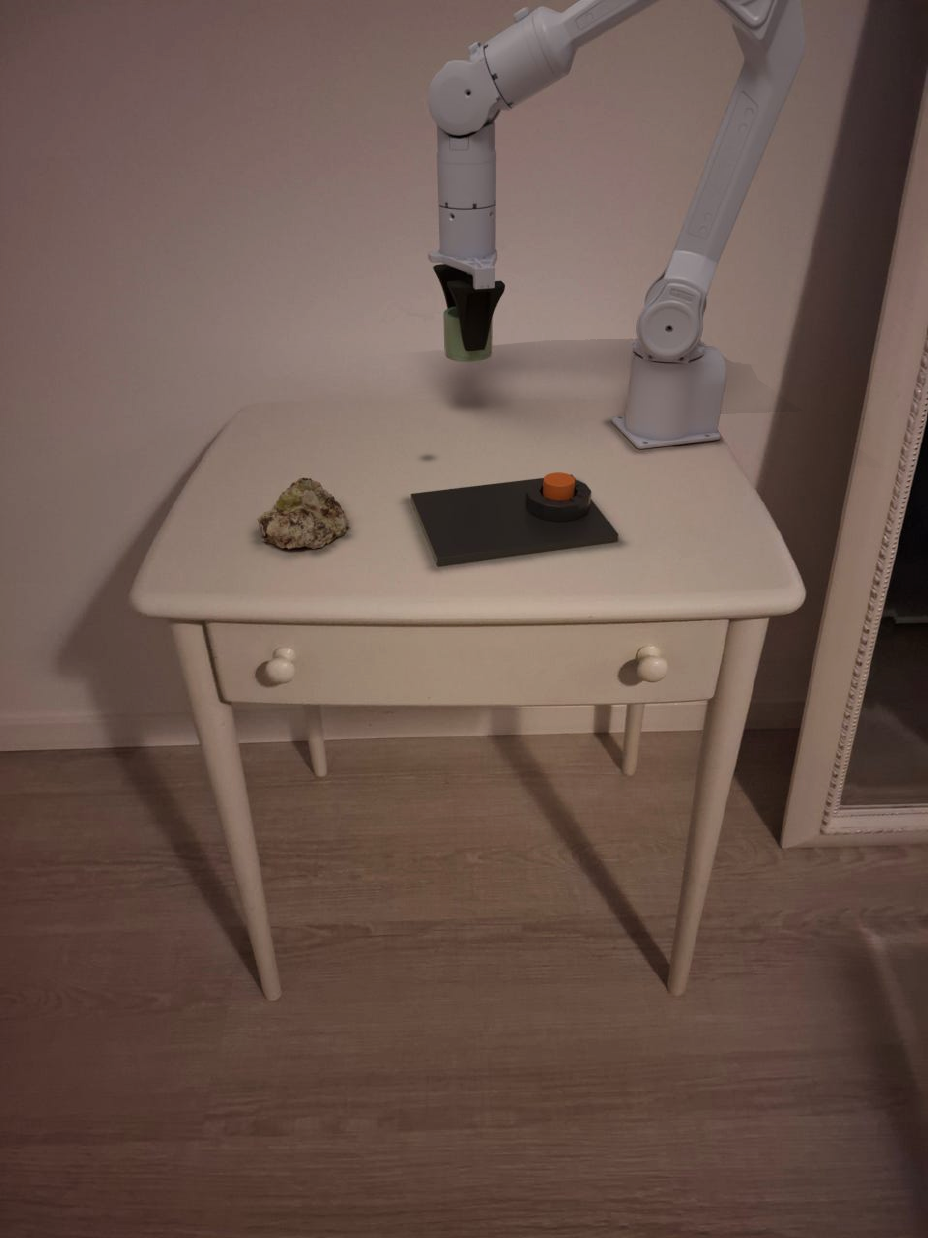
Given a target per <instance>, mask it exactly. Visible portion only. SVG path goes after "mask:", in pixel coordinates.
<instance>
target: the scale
mask: <svg viewBox="0 0 928 1238" xmlns="http://www.w3.org/2000/svg"><path fill="white" fill-rule="evenodd" d="M569 474H570V473H569ZM570 475H572V476H573V477H574V478H575V490H574V496H573V498H571V499H567V500H553V499H549V498H546V497H544V496H543V481H544V477H538V478H530V479H529V478H528V479H522V480H513V481H505V482H497V483H488V484H480V485H471V486H465V487H464V486H463V487H456V488H447V489H438V490H432V491H431V490H429V491H423V492H415V493H414V492H413V493H410V503H411V505H412V509H413V511H414V513H415V515H416V518H417V520H418V523H419V526H420V528H421V530H422V533H423V536H424V537H425V540H426V542H427V545H428V547H429V551H430V553H431V555H432V557H433V560H434V562H435V565H436V567H437V568H439V567H446V566H447V567H448V566H454V565H461V564H469V563H476V562H483V561H491V560H497V559H505V558H513V557H519V556H520V557H521V556H528V555H535V554H542V553H549V552H555V551H565V550H572V549H578V548H579V549H580V548H584V547H593V546H601V545H607V544H614V543H615V544H616V543H618V542H619V541H618V540H619V532H617V530H616V529H615V528H614V526H613V525H612V524H611V522H610V521H609V519H607V517H606V516H605V514H604V513H603V512H602V511H601V510H600V508H599V507H598V506H597V504H596V503H595V502H594V501H593V499H592V490H591V488H590V487H589V486H588V484H586V483H585V482H582V481H580V480H578V479H577V478H576V477H575V475H573V474H572V473H571V474H570Z"/></svg>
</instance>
